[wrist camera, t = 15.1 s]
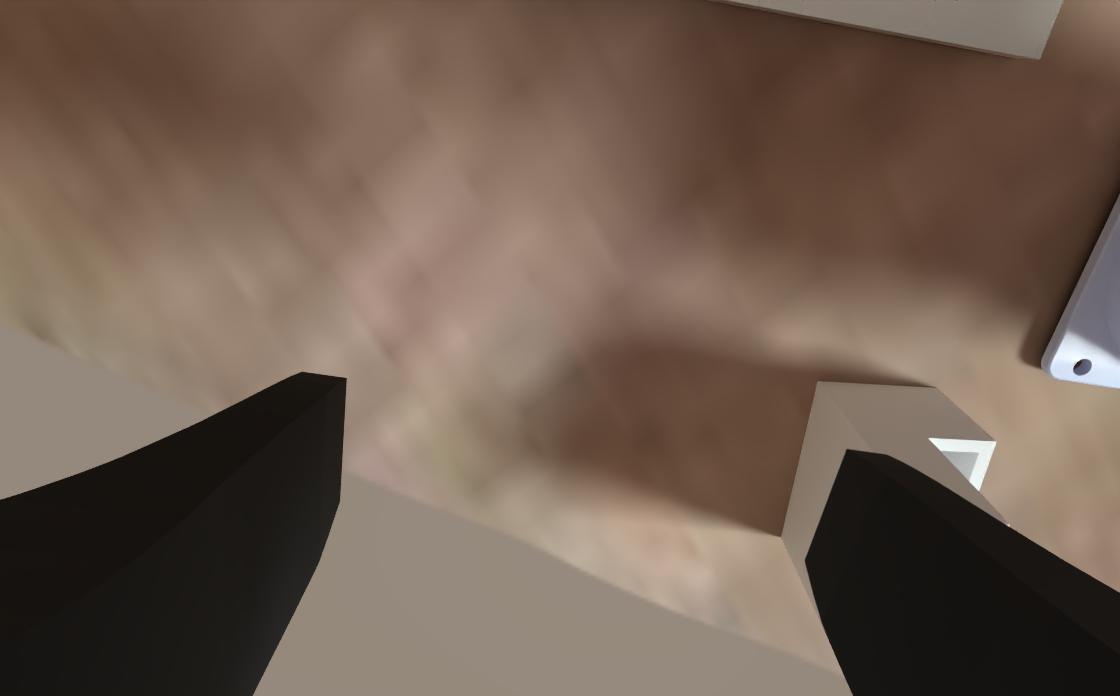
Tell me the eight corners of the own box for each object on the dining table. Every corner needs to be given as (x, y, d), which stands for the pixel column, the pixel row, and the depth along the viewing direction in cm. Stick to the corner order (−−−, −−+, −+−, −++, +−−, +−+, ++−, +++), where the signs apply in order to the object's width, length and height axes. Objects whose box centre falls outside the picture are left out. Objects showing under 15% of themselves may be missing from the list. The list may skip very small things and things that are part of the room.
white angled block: (778, 696, 23) (928, 855, 14) (783, 386, 24) (925, 362, 16) (889, 700, 23) (1103, 859, 15) (888, 392, 24) (1087, 371, 16)
